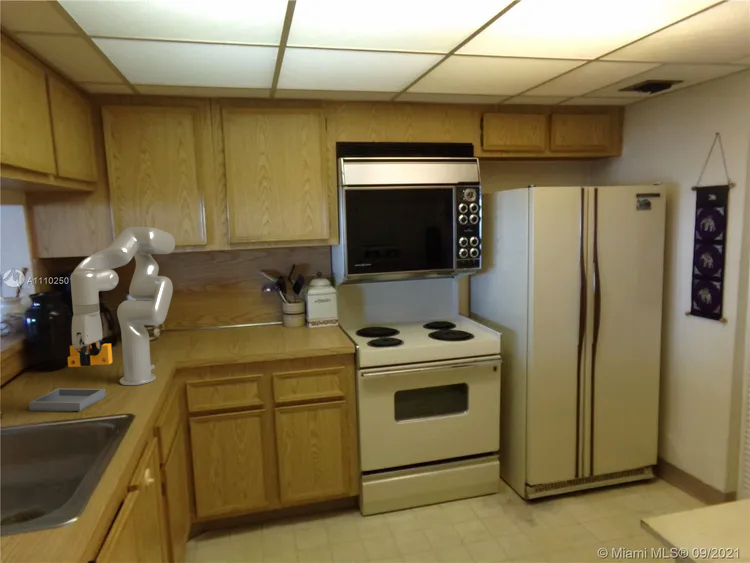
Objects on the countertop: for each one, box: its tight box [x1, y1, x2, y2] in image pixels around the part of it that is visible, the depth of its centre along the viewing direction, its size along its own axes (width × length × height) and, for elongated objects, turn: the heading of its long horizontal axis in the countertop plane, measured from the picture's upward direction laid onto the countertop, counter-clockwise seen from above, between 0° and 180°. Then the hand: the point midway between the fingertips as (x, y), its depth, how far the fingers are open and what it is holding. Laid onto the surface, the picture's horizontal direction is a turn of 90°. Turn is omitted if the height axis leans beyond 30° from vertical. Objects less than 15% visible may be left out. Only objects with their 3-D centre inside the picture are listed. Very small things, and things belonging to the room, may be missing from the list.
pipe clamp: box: [67, 343, 113, 368], centre depth 164 cm, size 12×4×6 cm, turn 94°
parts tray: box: [28, 387, 106, 412], centre depth 169 cm, size 14×17×3 cm
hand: (90, 362), depth 165 cm, fingers closed on pipe clamp, 4 cm apart
